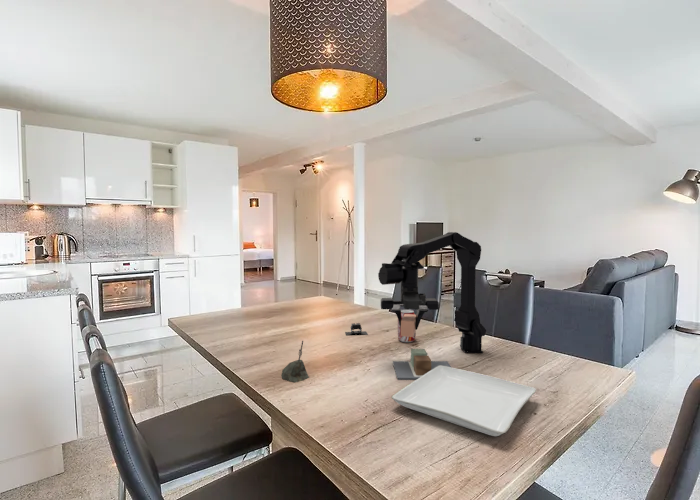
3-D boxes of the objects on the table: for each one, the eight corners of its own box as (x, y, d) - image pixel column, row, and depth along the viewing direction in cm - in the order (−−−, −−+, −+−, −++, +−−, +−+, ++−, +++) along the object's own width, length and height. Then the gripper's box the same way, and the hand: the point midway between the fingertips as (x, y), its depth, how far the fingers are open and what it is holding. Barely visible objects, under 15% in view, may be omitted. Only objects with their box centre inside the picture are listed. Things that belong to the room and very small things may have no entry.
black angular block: (369, 332, 166) (369, 321, 166) (372, 337, 159) (372, 326, 159) (340, 333, 165) (340, 322, 165) (342, 337, 158) (342, 326, 157)
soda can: (410, 344, 146) (410, 313, 146) (394, 341, 151) (394, 311, 150) (418, 340, 152) (418, 310, 151) (403, 337, 156) (403, 308, 156)
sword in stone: (275, 374, 118) (276, 335, 117) (298, 369, 122) (299, 332, 122) (290, 385, 110) (291, 343, 109) (313, 379, 114) (315, 340, 114)
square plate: (439, 375, 115) (439, 363, 115) (537, 401, 98) (537, 386, 98) (389, 409, 94) (389, 394, 94) (503, 449, 77) (504, 431, 77)
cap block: (416, 329, 131) (416, 314, 131) (413, 337, 122) (413, 321, 121) (404, 328, 132) (404, 313, 132) (400, 336, 123) (400, 320, 122)
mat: (447, 363, 126) (447, 361, 126) (458, 379, 112) (458, 377, 112) (392, 362, 127) (392, 361, 126) (397, 379, 113) (397, 377, 112)
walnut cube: (428, 369, 119) (428, 355, 118) (431, 375, 114) (431, 360, 114) (413, 369, 119) (413, 355, 118) (416, 375, 114) (416, 360, 114)
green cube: (424, 362, 125) (424, 348, 125) (427, 367, 121) (427, 353, 120) (410, 362, 125) (410, 348, 125) (412, 367, 121) (412, 353, 120)
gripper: (382, 286, 118) (381, 336, 119) (442, 286, 117) (442, 336, 118) (380, 281, 129) (380, 326, 130) (436, 281, 129) (435, 327, 129)
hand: (408, 329), depth 127 cm, fingers closed on cap block, 4 cm apart
